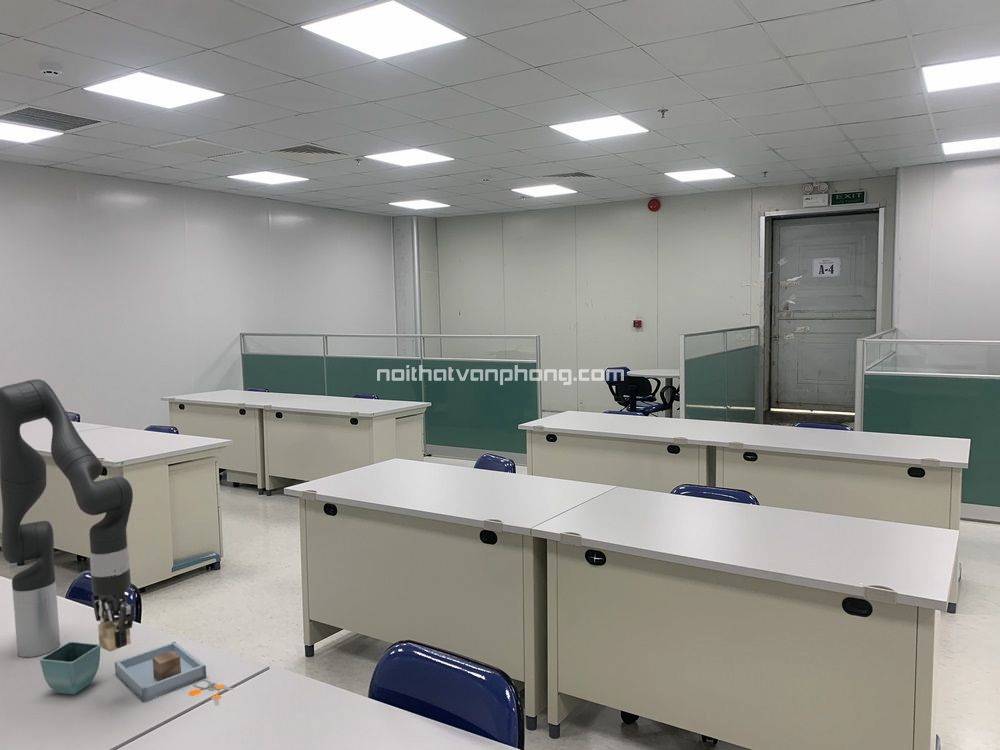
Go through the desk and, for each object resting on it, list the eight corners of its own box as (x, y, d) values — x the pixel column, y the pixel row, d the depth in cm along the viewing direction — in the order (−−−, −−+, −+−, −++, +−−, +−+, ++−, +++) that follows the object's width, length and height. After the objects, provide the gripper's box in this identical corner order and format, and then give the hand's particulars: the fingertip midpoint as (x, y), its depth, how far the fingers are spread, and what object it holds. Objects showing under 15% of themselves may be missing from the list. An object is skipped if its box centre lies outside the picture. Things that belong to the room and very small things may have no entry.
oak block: (99, 646, 154) (98, 624, 153) (120, 638, 157) (118, 617, 157) (110, 651, 151) (108, 629, 151) (130, 643, 155) (129, 622, 154)
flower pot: (74, 701, 155) (71, 662, 154) (41, 697, 157) (38, 659, 156) (104, 680, 163) (101, 644, 163) (72, 677, 165) (69, 641, 164)
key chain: (179, 693, 158) (178, 689, 158) (207, 678, 164) (207, 675, 164) (214, 709, 151) (214, 705, 151) (242, 693, 158) (242, 689, 158)
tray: (115, 674, 166) (114, 662, 166) (175, 653, 176) (174, 641, 176) (143, 702, 154) (142, 689, 154) (206, 677, 164) (205, 665, 164)
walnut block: (161, 684, 159) (159, 663, 159) (153, 677, 162) (152, 657, 162) (181, 677, 163) (180, 656, 162) (173, 670, 166) (172, 650, 165)
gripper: (76, 567, 153) (81, 642, 155) (109, 581, 146) (114, 659, 147) (110, 557, 160) (115, 629, 161) (144, 570, 152) (149, 645, 153)
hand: (115, 643), depth 154 cm, fingers closed on oak block, 4 cm apart
